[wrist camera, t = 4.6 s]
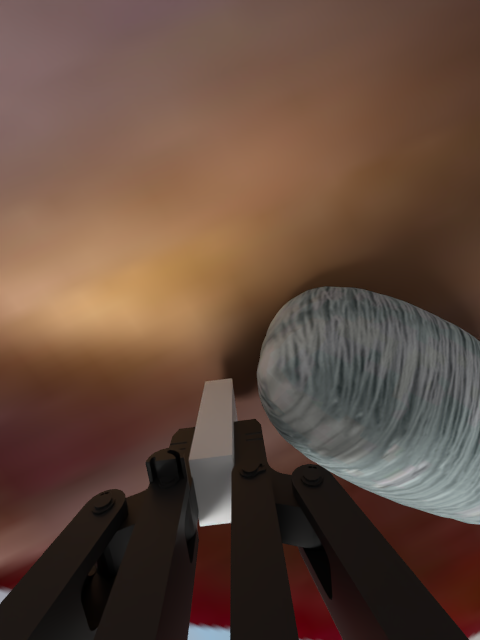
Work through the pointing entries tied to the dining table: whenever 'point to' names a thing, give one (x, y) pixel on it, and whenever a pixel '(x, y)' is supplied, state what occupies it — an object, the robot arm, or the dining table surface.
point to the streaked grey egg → (378, 396)
